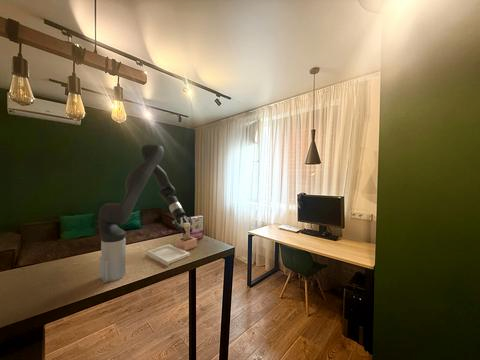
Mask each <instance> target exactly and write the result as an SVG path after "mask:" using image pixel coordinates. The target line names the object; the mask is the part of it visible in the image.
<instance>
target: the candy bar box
mask: <svg viewBox="0 0 480 360" xmlns="http://www.w3.org/2000/svg"><path fill="white" fill-rule="evenodd" d="M190 217H191V219H192V223H193V224H192V225H191V227H192V229H193V231H192V232H191V233H190V236H191V237H194V238H197V240H199V239H204V216H203V215H195V216H190Z"/></svg>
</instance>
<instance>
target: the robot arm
mask: <svg viewBox="0 0 480 360" xmlns="http://www.w3.org/2000/svg"><path fill="white" fill-rule="evenodd" d="M140 149H141V151H140V152H141V157H142V158H143V160H144V161H143V162H142V163H139V165H137V166H136V167H133V169H132V170H131V171H130V172H129V174H128V175H127V176H126V178H125V182H124V183H125V184H124V185H125V191H126V193H125V196H124V198H123V199H122V201H121V202H120V203H118V202H117V203H116V202H115V203H114V202H112V203H111V202H107V203H104V204H103V205H102V206H101V207H100V209H99V212H98V233H99V236H100V241H101V242H100V243H101V244H100V249H101V250H100V254H101V256H99V257H98V258H99V259H98V261H99V264H98V265H99V267H98V268H99V269H98V270H99V271H98V278H99V279H100V280H101V281H102V282H103V283H104V284H105V283H108V282H114V281H115V282H116V281H118V280H120V279H122V278H123V277H125V275H126V252H127V251H126V247H127V246H126V245H127V244H126V241H127V239H126V237H127V234H126V233H127V232H126V231H125V230H124V229H122V228H120V227H119V226H121V225H125V224H126V223H127V222H128V221H129V219H130V217H131V215H132V213H133V212H134V211H133V210H134V208H135V206H136V204H137V201H138V199H139V197H140V195H141V194H142V192H143V190H144V188H145V186H146V185H147V183H148V181H149V180H150V177H151V176H152V174H153V175H154V177H155V180H156V182H157V184H158V186H159V187H160V189H159V191H158V194H159V196H160V197H161V198H162V199H163V200H164V201H165V203H166V205H167V206H168V208H169V211H170V213H171V215H172V217H173V220H172V222H171V224H172V225H173V226H174V227H175V229H177V230H180V231H181V233H182V235H183V234H186V231H185V229H184V227H183V223H190V233H191V232H192V231H193V229H192V227H191V225H192V224H193V223H192V219H191V217H192V216H189V217H188V216H186V212H185V210H184V209H183V207H182V206H183V205H182V204H181V203H180V202H179V200H178V197H177V196H175V194H176V188H175V187H174V186H173V184H171V182H170V180H169V177H168V175H167V172H166V171H165V170H164V169H163V168H162V167H161V166H160V165H159V164H160V162H161V161H162V159H163V158H164V153H165V150H164V147H163V146H162V145H159V144H144V145H143V146H141V148H140ZM118 225H119V226H118Z"/></svg>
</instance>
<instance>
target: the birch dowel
mask: <svg viewBox="0 0 480 360" xmlns="http://www.w3.org/2000/svg"><path fill="white" fill-rule="evenodd" d="M183 227H184V229H185V231H186V234H183V233H182V237H183V239H182V240H183V241H188V240H190V223H187V222H186V223H183Z"/></svg>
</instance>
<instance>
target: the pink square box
mask: <svg viewBox="0 0 480 360" xmlns="http://www.w3.org/2000/svg"><path fill="white" fill-rule="evenodd" d="M182 239H183V236H180V237H178V238H175V239H174V240H175V241H174V243H175V244H174V245H175V246H174V247H177V248H179V249H182V250H184V251H186V252H187V251H189V250H191V249H193V248H197V246H198V239H197V238H194V237H191V236H190V240H188V241H183V240H182Z"/></svg>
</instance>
